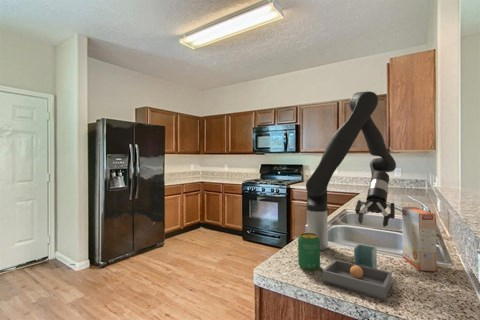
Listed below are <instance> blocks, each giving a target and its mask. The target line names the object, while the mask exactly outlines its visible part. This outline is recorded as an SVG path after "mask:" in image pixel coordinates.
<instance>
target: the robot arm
mask: <svg viewBox="0 0 480 320" xmlns="http://www.w3.org/2000/svg"><path fill="white" fill-rule="evenodd" d="M378 103H379V98H378V95H377V94H376V93H375V92H374V91H368V90H367V91H359V92H358V91H357V92H355V93H353V94H352V95H351V96H350V97H349V101H348V105H349V108H350V110H351V114H350V116H349V117H348V118H347V120H346V121H345V122H344V123H343V124H342V125H341V126H340V127H339V128H338V129H337V130H336V131H335V132H334V134H332V135H331V138H330V140H329V142H328V143H327V145H326V148H325V150H324V152H323V154H322V156H321V158H320V162H319V164H318V165H317V167H316V168H315V170H314V171H313V173H312V174H311V175H310V177H309V178H308V179H307V180H306V183H305V190H306V225H304V226H305V227H304V229H305V232H304V233H314V234H317V235H318V237H319V239H320V251H324V250H327V249H328V248H329V242H328V241H329V236H328V235H329V231H328V226H329V225H328V186H329V183H330V181H331V179H332V177H333V175H334V173H335V171H336V170H337V169H338V167H339V166H340V165H341V164H342V162H343V161H344V159H345V158H346V157H347V155H348V153H349V152H350V149H351V148H352V146H353V144H354V143H355V140H356V139H357V137H358V136H359V134H360V132H362V135H363V137H364V141H365V142H366V145H367V148H368V152H369V154H370V155H371V156H373V157H377V158H373V159H372V160H370V163H369V167H370V171H371V179H370V183H369V185H368V190H367V195H366V200H365V201H362V200H360V199H358V200H357V201H356V206H355V209H354V211H355V214H356V215H358V216H357V220H358V223H359V224H361V225H362V224H363V222H364V217H365V215H368V214H369V213H371V214H372V213H375V214H381V215H382V216H383V222H382V226H383V227H384V228H386V227H387V226H389V220H390V219H392V220H394V219H395V217H396V214H395V213H396V206H395V203H394V202H391V203H387V200H388V194H389V183H390V175H389V174H388V173H392V172H394V171H395V170H396V168H397V163H396V160H395V158H394V157H393V156H392V155H391V153H390V152H389V149H387V146H386V142H385V140H384V137H383V134H382V133H381V131H380V129H379V128H378V126H377V125H376V124H375V122H374V121H373V119H372V114H374V111H375V110H376V108H377V106H378ZM387 208H388V209H389V211H390V212H389V213H388V211H386V209H387Z"/></svg>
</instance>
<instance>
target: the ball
mask: <svg viewBox="0 0 480 320" xmlns="http://www.w3.org/2000/svg"><path fill="white" fill-rule="evenodd" d="M350 273H351V275H352V276H353V277H354V278H357V279H359V278H361V277H362V276H363V270H362V269H361V267H359V266H356V265H355V266H352V267H351V268H350Z"/></svg>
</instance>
